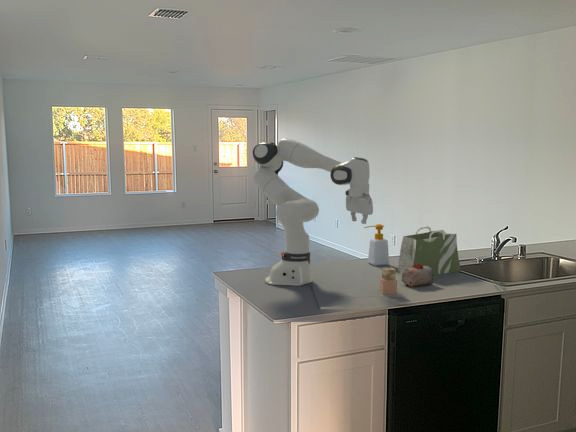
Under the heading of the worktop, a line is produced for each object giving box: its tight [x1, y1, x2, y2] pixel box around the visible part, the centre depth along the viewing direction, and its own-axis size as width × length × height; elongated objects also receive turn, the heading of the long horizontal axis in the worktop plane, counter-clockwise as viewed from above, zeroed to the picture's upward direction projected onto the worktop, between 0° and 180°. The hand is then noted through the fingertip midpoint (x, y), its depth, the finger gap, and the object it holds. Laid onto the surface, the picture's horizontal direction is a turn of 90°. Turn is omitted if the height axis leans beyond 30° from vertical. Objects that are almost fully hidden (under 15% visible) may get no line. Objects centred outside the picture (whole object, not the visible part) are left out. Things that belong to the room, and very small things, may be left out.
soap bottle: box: [364, 223, 390, 267], centre depth 304 cm, size 10×14×22 cm
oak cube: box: [381, 267, 397, 280], centre depth 241 cm, size 4×4×4 cm
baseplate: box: [344, 287, 407, 298], centre depth 241 cm, size 24×14×1 cm, turn 93°
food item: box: [401, 263, 434, 288], centre depth 259 cm, size 14×8×10 cm, turn 117°
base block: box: [379, 276, 398, 294], centre depth 241 cm, size 6×6×6 cm
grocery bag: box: [396, 226, 462, 276], centre depth 286 cm, size 32×14×23 cm, turn 118°
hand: (358, 222), depth 258 cm, fingers open, 8 cm apart
